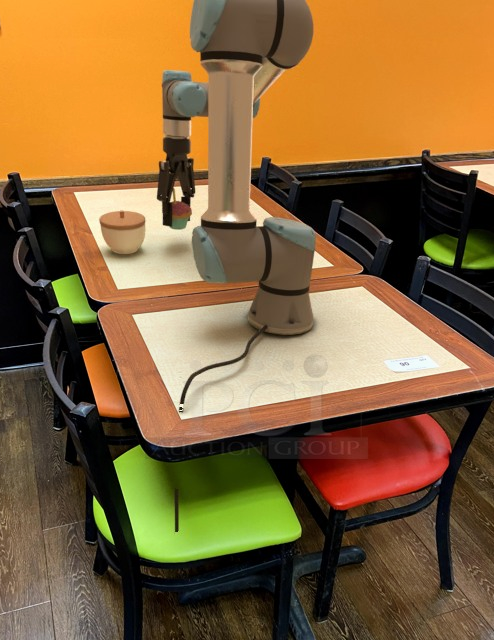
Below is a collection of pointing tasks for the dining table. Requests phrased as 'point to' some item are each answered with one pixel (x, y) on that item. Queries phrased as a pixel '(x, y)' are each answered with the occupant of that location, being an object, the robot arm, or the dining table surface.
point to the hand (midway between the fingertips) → (176, 222)
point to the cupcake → (180, 213)
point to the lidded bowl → (123, 231)
